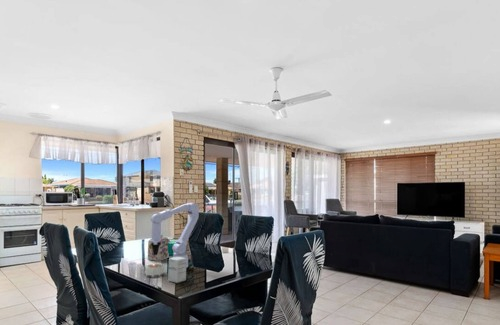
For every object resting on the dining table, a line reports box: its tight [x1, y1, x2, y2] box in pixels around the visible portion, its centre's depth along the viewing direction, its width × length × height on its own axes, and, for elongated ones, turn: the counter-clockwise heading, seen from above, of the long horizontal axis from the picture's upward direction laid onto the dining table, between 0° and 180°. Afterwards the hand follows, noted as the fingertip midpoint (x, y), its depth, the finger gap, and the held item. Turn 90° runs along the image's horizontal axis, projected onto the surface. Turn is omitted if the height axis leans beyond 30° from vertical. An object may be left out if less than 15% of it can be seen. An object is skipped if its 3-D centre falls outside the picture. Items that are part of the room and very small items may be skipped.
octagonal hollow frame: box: [143, 263, 165, 278], centre depth 192 cm, size 12×11×5 cm
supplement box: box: [167, 256, 187, 284], centre depth 179 cm, size 7×7×13 cm
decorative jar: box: [147, 234, 171, 262], centre depth 235 cm, size 12×12×18 cm
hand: (155, 254), depth 201 cm, fingers closed
